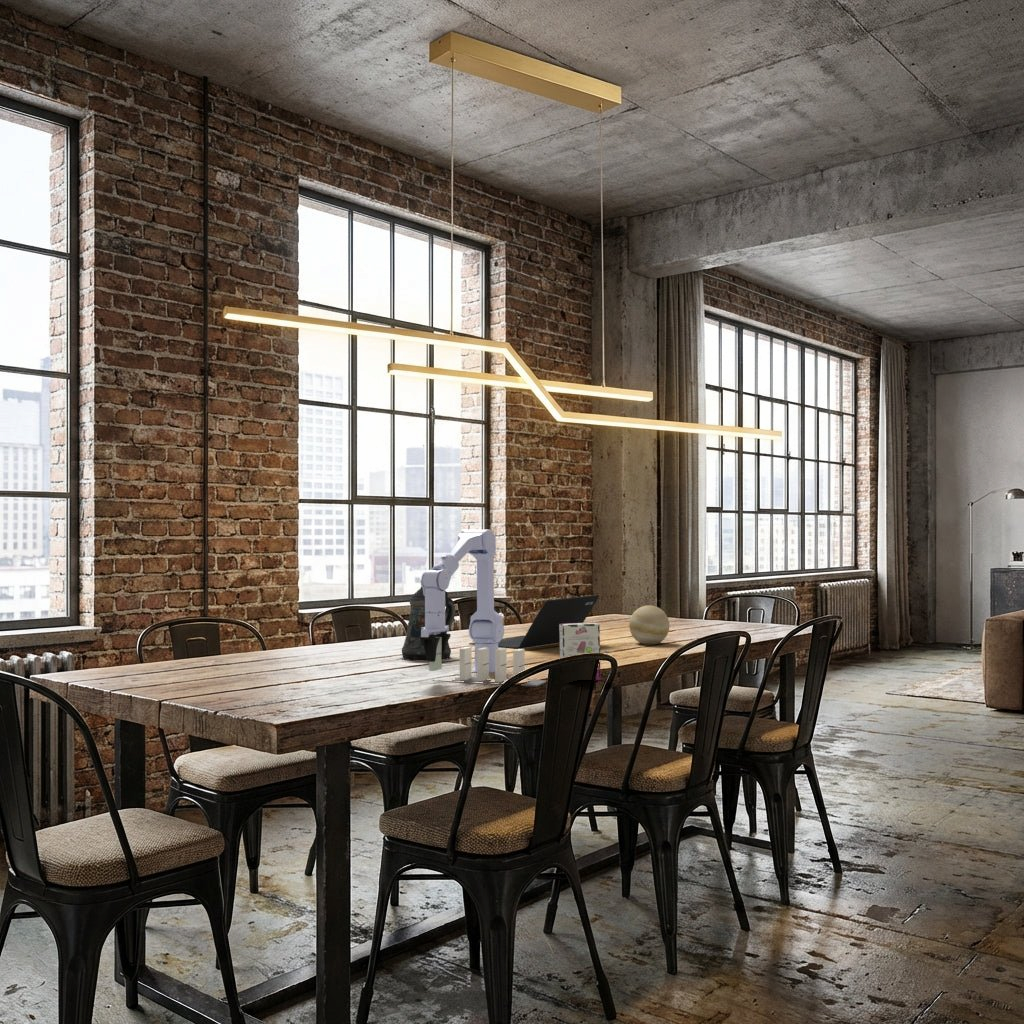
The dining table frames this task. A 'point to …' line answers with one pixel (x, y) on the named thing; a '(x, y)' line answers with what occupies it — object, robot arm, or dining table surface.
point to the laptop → (551, 622)
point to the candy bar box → (580, 640)
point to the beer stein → (417, 620)
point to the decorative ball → (649, 625)
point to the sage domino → (437, 658)
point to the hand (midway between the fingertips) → (435, 660)
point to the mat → (531, 683)
